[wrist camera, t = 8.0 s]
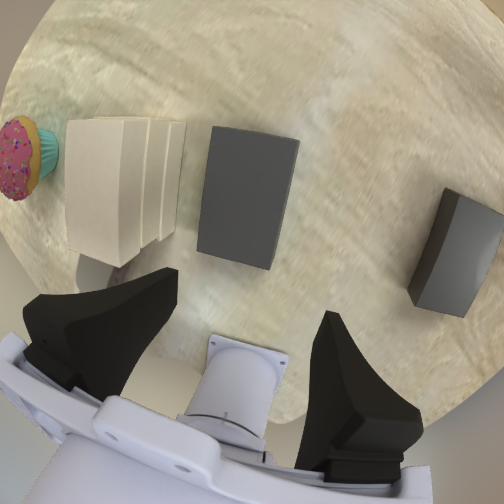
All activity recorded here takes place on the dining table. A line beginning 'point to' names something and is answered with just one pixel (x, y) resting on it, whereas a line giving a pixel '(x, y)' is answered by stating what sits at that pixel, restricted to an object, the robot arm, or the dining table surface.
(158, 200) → the cream stack
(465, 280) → the grey book
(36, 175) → the cupcake
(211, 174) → the grey book
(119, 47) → the dining table surface
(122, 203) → the cream book
